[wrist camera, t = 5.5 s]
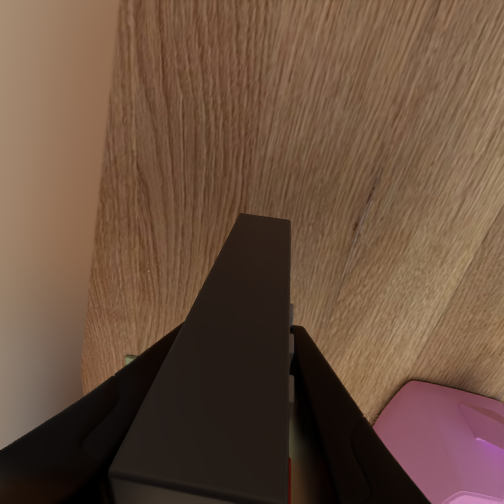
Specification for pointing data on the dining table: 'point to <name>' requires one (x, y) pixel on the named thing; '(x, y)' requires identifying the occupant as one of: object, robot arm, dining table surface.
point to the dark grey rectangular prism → (222, 386)
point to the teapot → (447, 442)
